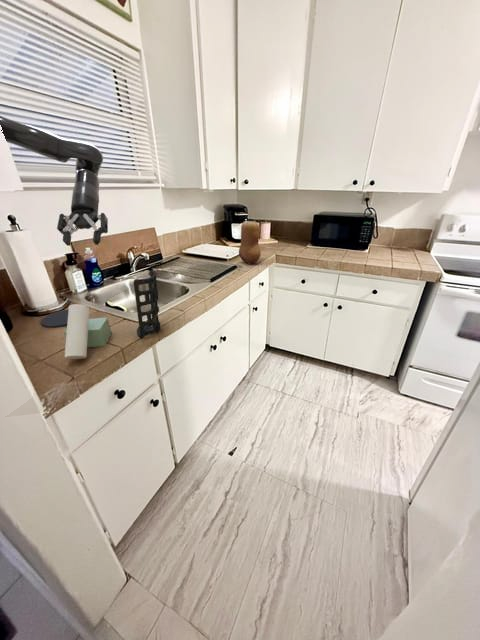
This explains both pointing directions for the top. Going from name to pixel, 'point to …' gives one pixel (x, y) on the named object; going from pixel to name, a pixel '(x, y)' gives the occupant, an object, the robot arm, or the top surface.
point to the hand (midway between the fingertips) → (81, 243)
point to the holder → (153, 292)
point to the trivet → (56, 319)
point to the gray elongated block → (77, 332)
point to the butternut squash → (250, 242)
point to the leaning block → (97, 332)
